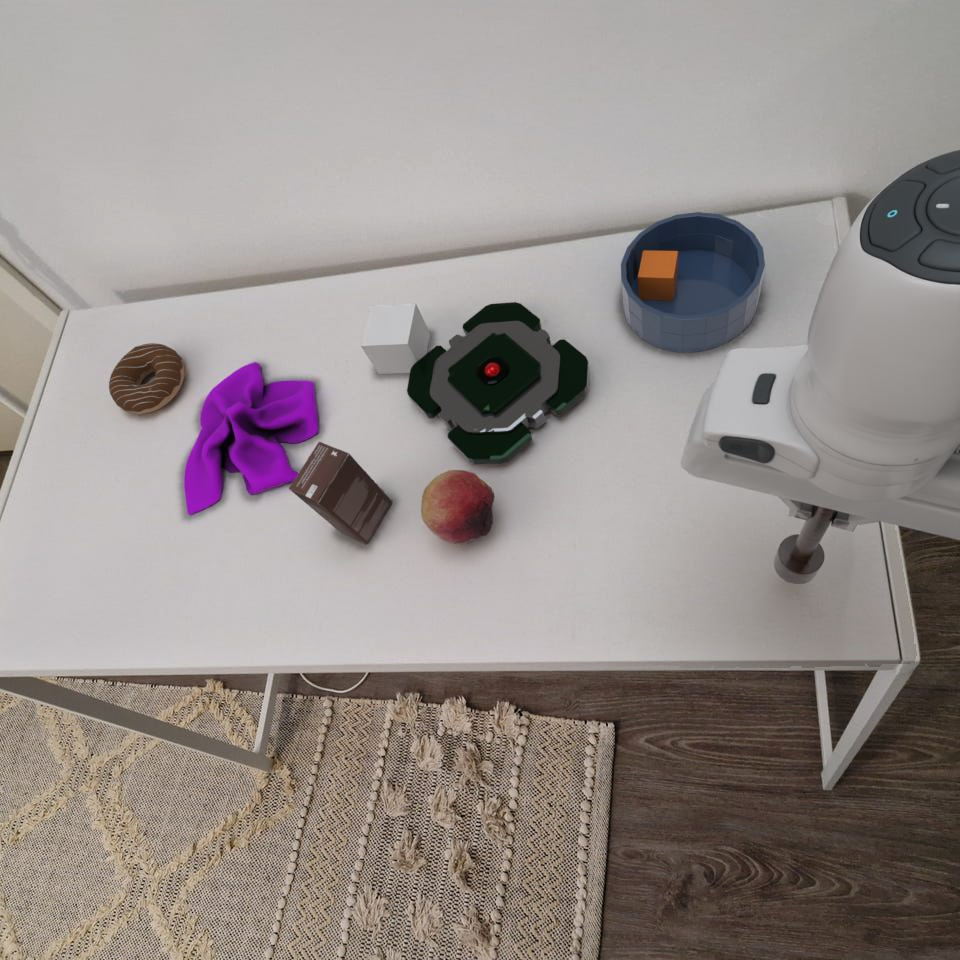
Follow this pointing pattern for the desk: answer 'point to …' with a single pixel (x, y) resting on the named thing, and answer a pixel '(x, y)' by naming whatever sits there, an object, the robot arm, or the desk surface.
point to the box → (341, 492)
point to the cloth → (248, 434)
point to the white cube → (395, 337)
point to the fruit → (458, 506)
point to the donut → (136, 368)
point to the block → (658, 275)
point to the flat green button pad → (498, 382)
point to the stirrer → (804, 549)
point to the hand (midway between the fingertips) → (820, 514)
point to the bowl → (696, 282)
